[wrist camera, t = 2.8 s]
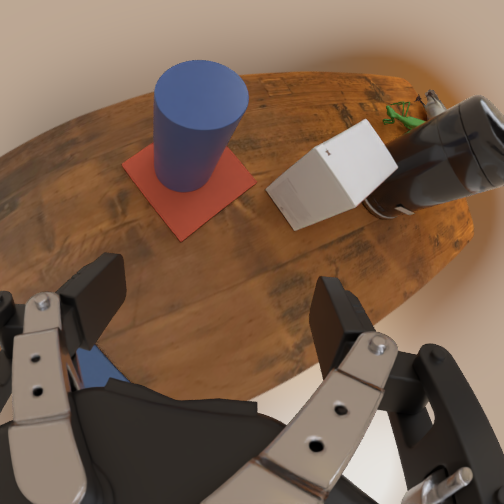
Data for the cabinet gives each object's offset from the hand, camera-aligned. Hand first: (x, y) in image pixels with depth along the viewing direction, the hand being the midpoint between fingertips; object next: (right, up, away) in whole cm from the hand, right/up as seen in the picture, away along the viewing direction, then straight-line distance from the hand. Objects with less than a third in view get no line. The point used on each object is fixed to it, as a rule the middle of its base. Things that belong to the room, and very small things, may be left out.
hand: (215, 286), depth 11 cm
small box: (+7, +8, +20) cm, 22 cm away
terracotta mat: (-5, +9, +16) cm, 19 cm away
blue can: (-5, +10, +15) cm, 19 cm away
